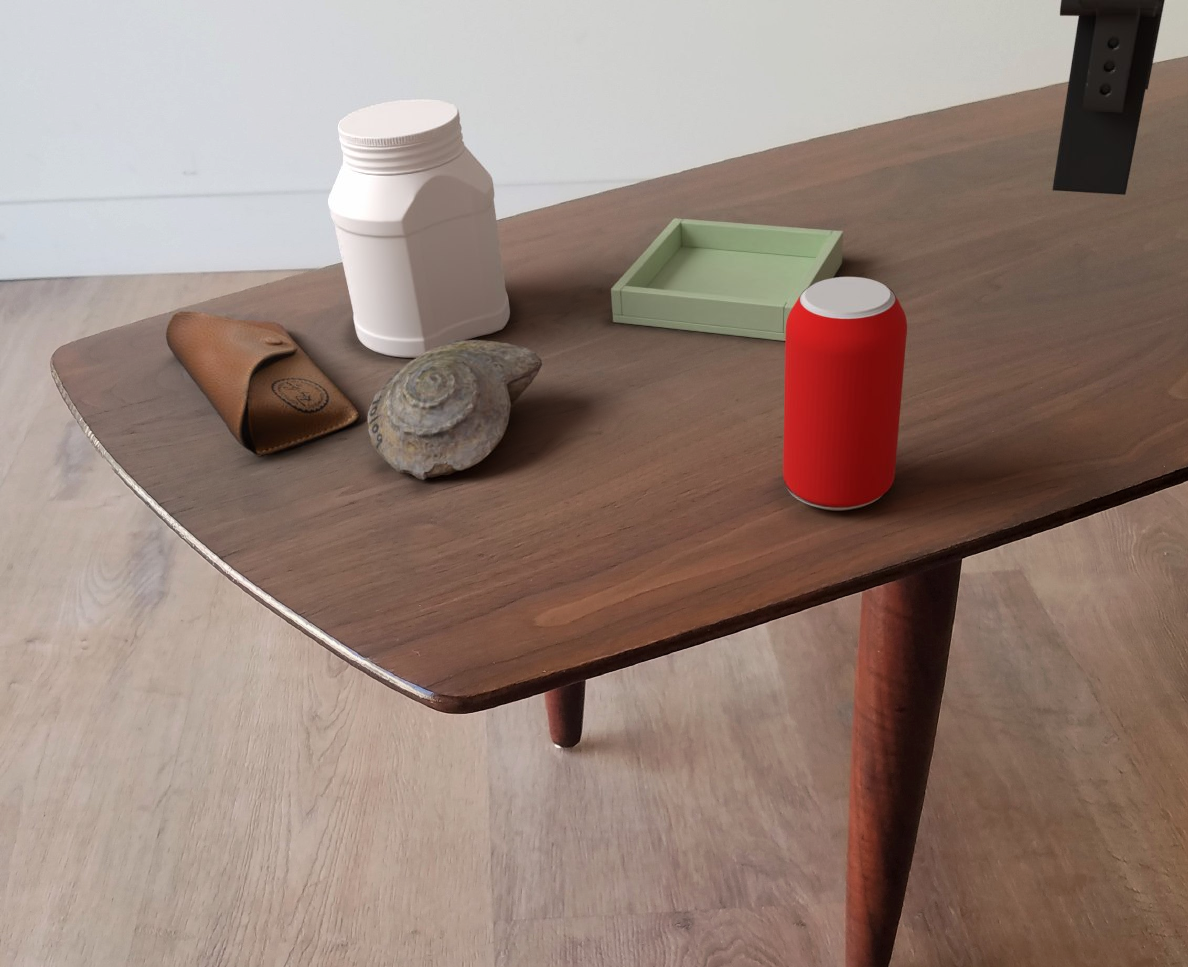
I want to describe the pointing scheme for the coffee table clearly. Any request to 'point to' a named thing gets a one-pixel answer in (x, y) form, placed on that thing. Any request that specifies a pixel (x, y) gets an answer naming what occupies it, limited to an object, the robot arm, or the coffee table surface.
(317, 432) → the sunglasses case
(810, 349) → the beverage can
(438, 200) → the jar
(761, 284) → the drinks tray
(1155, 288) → the coffee table surface
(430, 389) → the fossilized seashell
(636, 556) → the coffee table surface
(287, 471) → the coffee table surface
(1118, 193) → the robot arm
